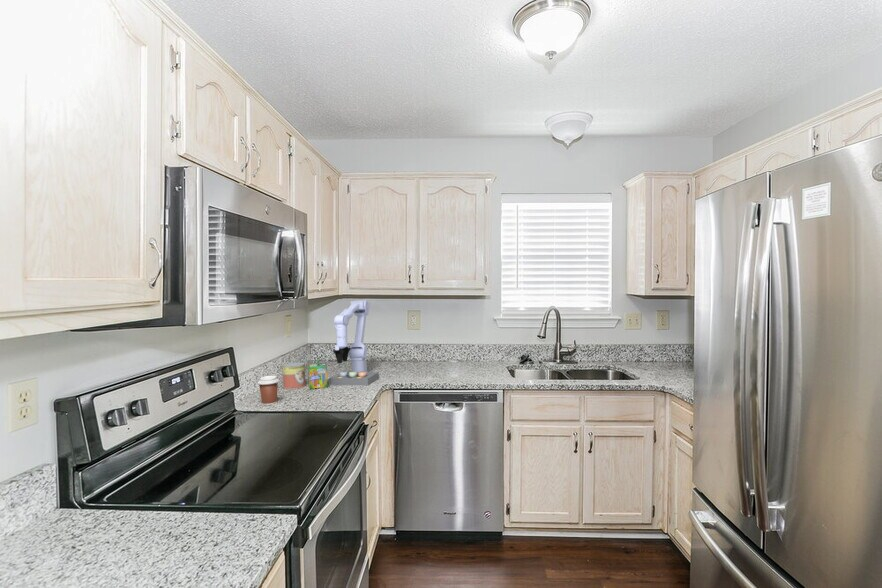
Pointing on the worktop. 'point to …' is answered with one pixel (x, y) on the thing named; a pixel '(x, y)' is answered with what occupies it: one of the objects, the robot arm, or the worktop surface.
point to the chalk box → (317, 375)
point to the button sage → (352, 374)
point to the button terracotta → (362, 374)
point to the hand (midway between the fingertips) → (342, 362)
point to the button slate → (343, 374)
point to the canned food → (294, 375)
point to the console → (354, 379)
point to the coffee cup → (268, 389)
